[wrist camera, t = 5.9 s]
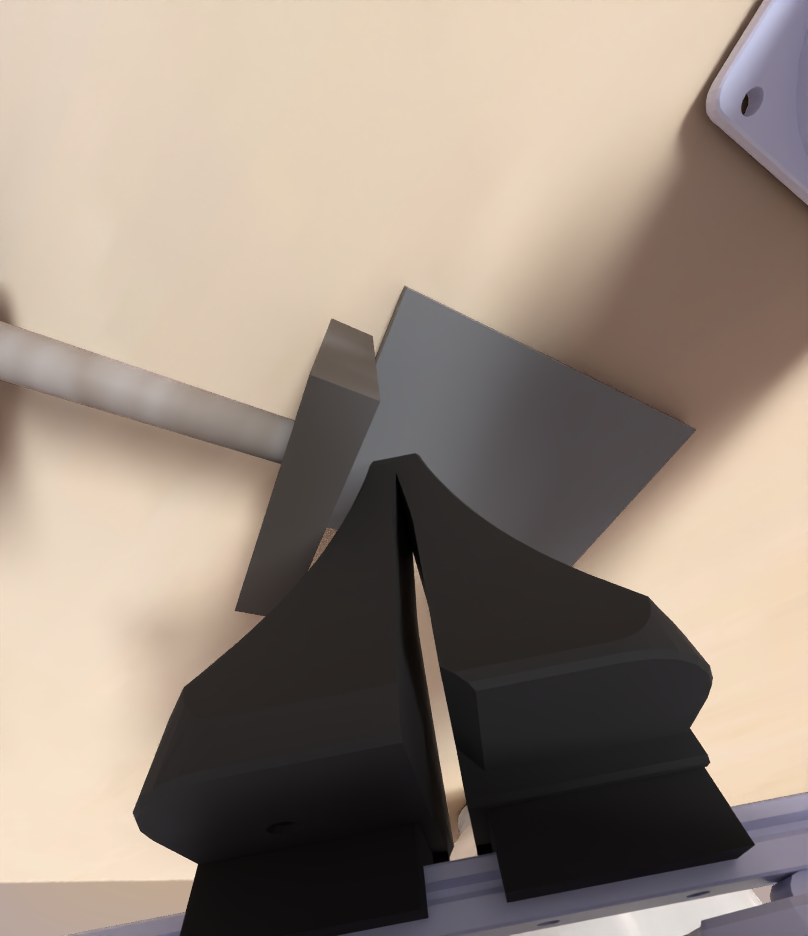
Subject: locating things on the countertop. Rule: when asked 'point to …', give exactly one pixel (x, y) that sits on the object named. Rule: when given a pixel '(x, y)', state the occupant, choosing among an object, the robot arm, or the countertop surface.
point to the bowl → (634, 932)
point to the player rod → (234, 433)
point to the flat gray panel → (509, 430)
